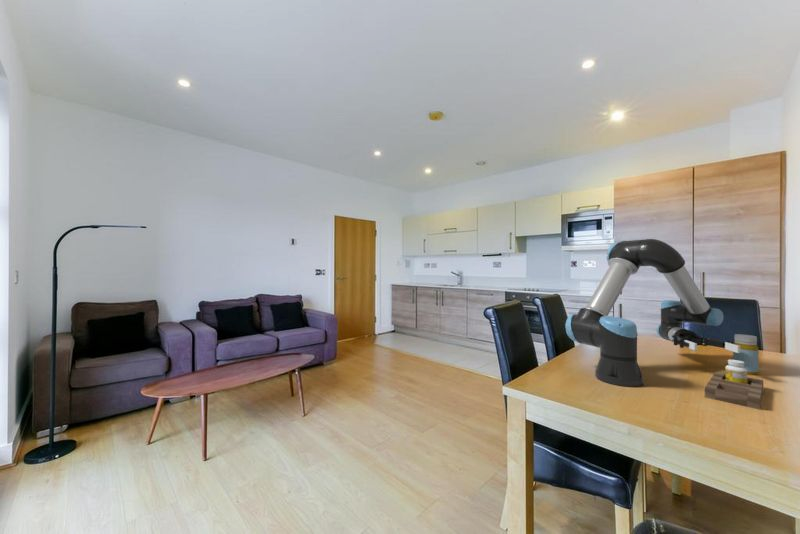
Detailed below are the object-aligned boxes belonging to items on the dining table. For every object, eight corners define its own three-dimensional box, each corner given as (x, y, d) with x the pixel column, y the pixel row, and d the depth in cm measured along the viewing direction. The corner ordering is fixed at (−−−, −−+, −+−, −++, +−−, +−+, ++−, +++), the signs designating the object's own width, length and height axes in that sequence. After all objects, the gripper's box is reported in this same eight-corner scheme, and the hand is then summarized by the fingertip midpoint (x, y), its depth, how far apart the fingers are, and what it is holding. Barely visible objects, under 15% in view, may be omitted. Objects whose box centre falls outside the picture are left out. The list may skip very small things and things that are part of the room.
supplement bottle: (748, 392, 108) (748, 364, 108) (726, 388, 111) (726, 361, 112) (745, 387, 112) (745, 360, 112) (724, 384, 116) (724, 358, 116)
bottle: (746, 369, 132) (746, 334, 132) (764, 375, 125) (763, 337, 125) (728, 369, 132) (728, 333, 133) (744, 374, 126) (744, 337, 126)
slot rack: (759, 409, 95) (759, 399, 95) (704, 397, 104) (704, 387, 104) (763, 388, 111) (763, 380, 111) (715, 379, 120) (715, 371, 120)
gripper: (717, 347, 139) (757, 360, 118) (650, 343, 145) (678, 355, 124) (717, 330, 139) (757, 340, 118) (650, 327, 145) (678, 336, 124)
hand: (717, 348), depth 121 cm, fingers open, 13 cm apart
